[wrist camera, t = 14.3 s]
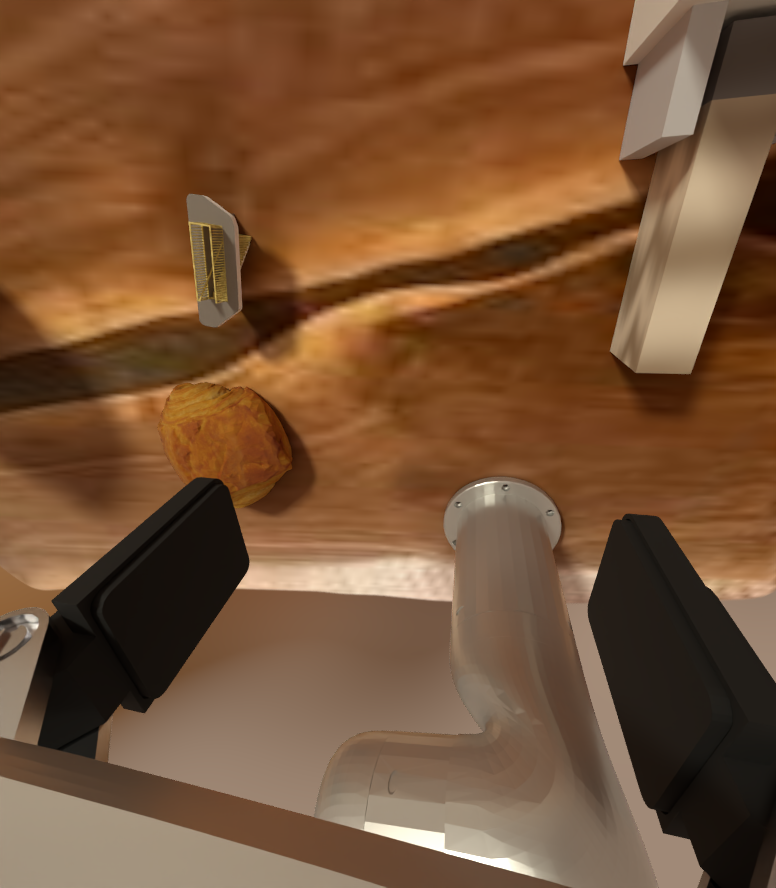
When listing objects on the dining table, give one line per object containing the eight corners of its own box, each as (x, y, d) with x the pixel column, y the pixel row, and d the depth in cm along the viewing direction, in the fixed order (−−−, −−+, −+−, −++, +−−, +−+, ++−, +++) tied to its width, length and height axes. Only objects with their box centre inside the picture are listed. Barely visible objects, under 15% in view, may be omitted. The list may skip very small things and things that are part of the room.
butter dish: (310, 154, 30) (273, 135, 25) (304, 368, 39) (275, 389, 34) (175, 134, 32) (110, 112, 26) (199, 346, 40) (154, 363, 35)
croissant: (223, 481, 52) (188, 526, 45) (161, 380, 43) (106, 417, 37) (318, 477, 48) (293, 525, 41) (270, 364, 39) (229, 403, 33)
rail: (655, 352, 32) (690, 374, 26) (609, 351, 32) (635, 372, 27) (742, 60, 23) (818, 9, 18) (677, 68, 24) (734, 20, 19)
